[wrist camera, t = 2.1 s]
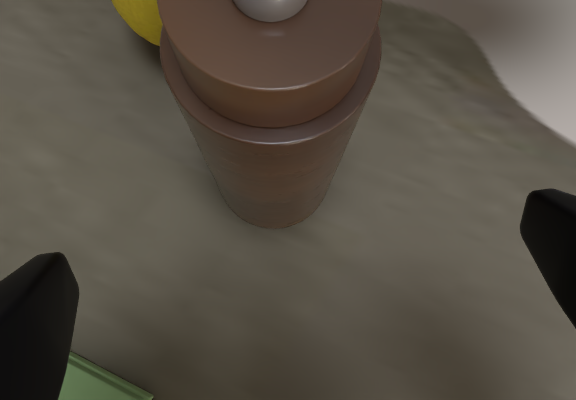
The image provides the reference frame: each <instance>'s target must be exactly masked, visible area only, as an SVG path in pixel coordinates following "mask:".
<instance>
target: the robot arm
mask: <svg viewBox="0 0 576 400" xmlns="http://www.w3.org/2000/svg"><path fill="white" fill-rule="evenodd" d="M520 233H521V236H522V238H523V240H524V242H525V244H526V246H527V248H528V249H529V251H530V253H531V255H532V257H533V259H534V260H535V262H536V264H537V266H538V268H539V270H540V271H541V273H542V275H543V277H544V279H545V281H546V283H547V284H548V286H549V288H550V290H551V292H552V293H553V295H554V297H555V298H556V300H557V302H558V303H559V305H560V306H561V308H562V309H563V311H564V312H565V314H566V315H567V317H568V318H569V320H570V321H571V322H572V324H573V325H574V327H575V328H576V196H574V195H571V194H568V193H565V192H562V191H559V190H556V189H543V190H536V191H532V192H531V193H529V195H528V196H527V199H526V203H525V207H524V211H523V215H522V219H521V223H520ZM78 300H79V287H78V284H77V281H76V279H75V277H74V274H73V272H72V270H71V268H70V265H69V263H68V261H67V259H66V257H65V256H64V255H63V254H62V253H60V252H54V253H46V254H40V255H37V256H35V257H34V258H32V259H31V260H30V261H28V262H27V263H25V264H24V265H23V266H21V267H20V268H18V269H17V270H16V271H14V272H13V273H11V274H10V275H9V276H7V277H6V278H4V279H3V280H2V281H0V400H58V398H59V395H60V391H61V388H62V384H63V381H64V377H65V373H66V369H67V364H68V359H69V354H70V348H71V342H72V336H73V330H74V324H75V318H76V312H77V306H78Z"/></svg>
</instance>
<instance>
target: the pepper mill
mask: <svg viewBox="0 0 576 400" xmlns="http://www.w3.org/2000/svg"><path fill="white" fill-rule="evenodd" d="M157 5H158V11H159V15H160V19H161V22H162V29H161V36H160V58H161V64H162V69H163V72H164V75H165V79H166V81H167V83H168V85H169V87H170V89H171V91H172V93H173V96H174V98H175V100H176V102H177V104H178V106H179V108H180V110H181V112H182V114H183V116H184V118H185V120H186V122H187V124H188V126H189V128H190V130H191V132H192V134H193V136H194V138H195V140H196V142H197V144H198V146H199V148H200V150H201V152H202V154H203V156H204V158H205V160H206V162H207V164H208V167H209V169H210V171H211V173H212V175H213V177H214V179H215V181H216V183H217V185H218V187H219V189H220V191H221V193H222V195H223V197H224V199H225V201H226V203H227V204H228V205H229V207H230V208H231V209H232V210H233V211H234V213H236V214H237V215H238V216H239V217H240V218H242V219H243V220H245V221H247V222H249V223H251V224H253V225H256V226H259V227H265V228H283V227H288V226H291V225H294V224H297V223H299V222H301V221H303V220H304V219H306V218H307V217H308V216H310V215H311V214H312V213H313V212H314V211H315V210H316V209H317V207H318V206H319V205H320V203H321V202H322V200H323V198H324V196H325V194H326V191H327V189H328V187H329V185H330V182H331V180H332V178H333V176H334V173H335V171H336V169H337V166H338V164H339V162H340V160H341V157H342V155H343V153H344V151H345V148H346V146H347V144H348V141H349V139H350V137H351V135H352V132H353V130H354V128H355V126H356V123H357V121H358V119H359V117H360V114H361V112H362V110H363V107H364V105H365V103H366V101H367V98H368V96H369V94H370V92H371V89H372V87H373V85H374V83H375V80H376V77H377V74H378V70H379V66H380V60H381V37H380V30H379V26H378V20H379V17H380V12H381V5H382V0H157Z"/></svg>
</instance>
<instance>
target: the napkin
mask: <svg viewBox="0 0 576 400" xmlns="http://www.w3.org/2000/svg"><path fill="white" fill-rule="evenodd" d="M152 398H153V395H152V394H150V393H148V392H146V391H144V390H142V389H141V388H139V387H137V386H135V385H133V384H131V383H129V382H127V381H125V380H124V379H122V378H120V377H118V376H116V375H114V374H112V373H110V372H108V371H107V370H105V369H103V368H101V367H99V366H97V365H95V364H93V363H91V362H90V361H88V360H86V359H84V358H82V357H80V356H78V355H76V354H74V353H73V352H71V351H70V354H69V359H68V364H67V369H66V373H65V377H64V381H63V384H62V388H61V391H60V395H59V398H58V400H152Z"/></svg>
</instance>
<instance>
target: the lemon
mask: <svg viewBox="0 0 576 400" xmlns="http://www.w3.org/2000/svg"><path fill="white" fill-rule="evenodd" d="M111 1H112V3H113V5H114V7H115V8H116V10H117V12H118V13H119V14H120V16H121V17H122V18H123V19H124V20H125V21H126V22H127V24H128V25H129V26H130V27H131V28H132V29H133V30H134V31H135V32H136V33H137V34H138V35H140V36H141V37H143V38H144V39H146V40H147V41H149V42H151V43H152V44H155V45H157V46H160V36H161V29H162V22H161V19H160V15H159V11H158V5H157V0H111Z"/></svg>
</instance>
